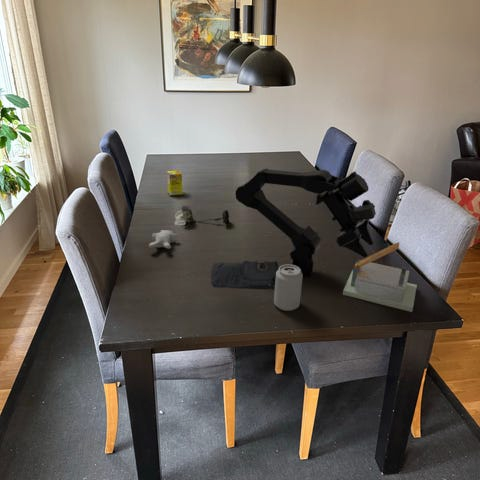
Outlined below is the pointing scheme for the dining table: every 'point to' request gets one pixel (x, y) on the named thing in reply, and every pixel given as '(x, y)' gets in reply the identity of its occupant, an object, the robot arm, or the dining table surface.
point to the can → (288, 287)
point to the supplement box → (174, 183)
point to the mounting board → (404, 305)
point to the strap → (377, 255)
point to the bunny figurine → (163, 239)
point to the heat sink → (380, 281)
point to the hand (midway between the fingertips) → (369, 250)
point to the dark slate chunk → (244, 275)
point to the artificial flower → (187, 215)
